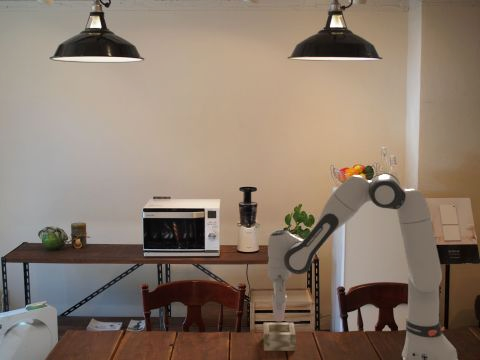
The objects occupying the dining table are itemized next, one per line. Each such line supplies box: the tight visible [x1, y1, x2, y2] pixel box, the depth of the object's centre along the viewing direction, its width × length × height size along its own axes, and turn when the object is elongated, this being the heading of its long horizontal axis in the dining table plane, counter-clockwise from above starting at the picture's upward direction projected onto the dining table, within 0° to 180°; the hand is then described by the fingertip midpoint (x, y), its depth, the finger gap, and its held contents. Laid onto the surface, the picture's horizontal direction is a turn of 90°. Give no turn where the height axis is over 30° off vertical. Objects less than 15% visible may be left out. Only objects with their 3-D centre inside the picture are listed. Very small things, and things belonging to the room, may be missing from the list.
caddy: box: [262, 322, 296, 352], centre depth 246 cm, size 12×12×6 cm
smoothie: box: [270, 293, 288, 323], centre depth 244 cm, size 6×6×14 cm
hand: (279, 306), depth 244 cm, fingers closed on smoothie, 5 cm apart
